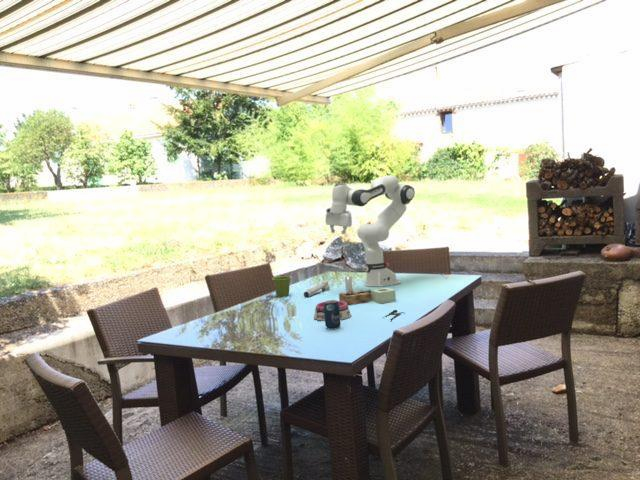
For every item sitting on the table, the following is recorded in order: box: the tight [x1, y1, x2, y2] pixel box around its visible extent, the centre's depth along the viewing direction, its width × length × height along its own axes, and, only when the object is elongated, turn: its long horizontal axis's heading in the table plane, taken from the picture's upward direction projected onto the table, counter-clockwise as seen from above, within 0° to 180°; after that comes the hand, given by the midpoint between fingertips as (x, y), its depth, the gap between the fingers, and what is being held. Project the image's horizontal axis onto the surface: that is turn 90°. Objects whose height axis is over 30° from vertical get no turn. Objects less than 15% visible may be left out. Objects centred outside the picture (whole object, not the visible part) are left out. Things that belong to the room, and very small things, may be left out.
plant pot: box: [271, 275, 292, 298], centre depth 326 cm, size 12×12×11 cm
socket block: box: [338, 289, 372, 306], centre depth 293 cm, size 14×12×4 cm
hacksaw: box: [382, 309, 406, 321], centre depth 250 cm, size 24×10×2 cm, turn 147°
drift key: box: [363, 287, 382, 293], centre depth 296 cm, size 12×2×5 cm, turn 109°
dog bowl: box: [313, 300, 352, 322], centre depth 261 cm, size 18×19×7 cm
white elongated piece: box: [303, 280, 331, 298], centre depth 326 cm, size 5×7×25 cm
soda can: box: [324, 299, 341, 330], centre depth 240 cm, size 7×7×12 cm
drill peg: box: [344, 276, 354, 296], centre depth 291 cm, size 4×4×14 cm
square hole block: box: [370, 287, 397, 305], centre depth 288 cm, size 10×10×6 cm
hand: (338, 233), depth 318 cm, fingers open, 8 cm apart
